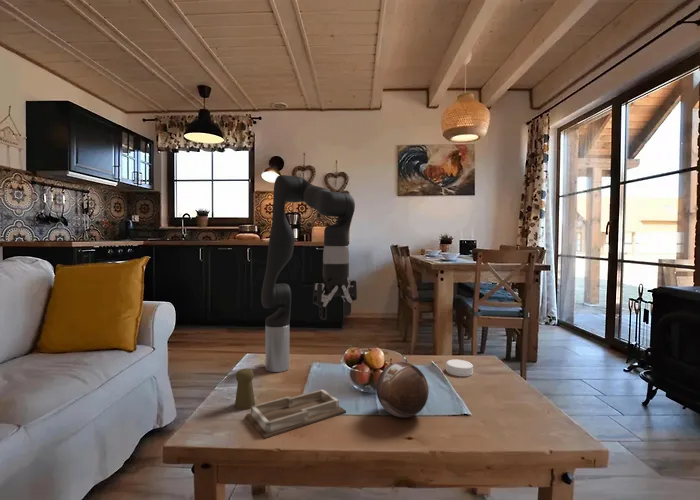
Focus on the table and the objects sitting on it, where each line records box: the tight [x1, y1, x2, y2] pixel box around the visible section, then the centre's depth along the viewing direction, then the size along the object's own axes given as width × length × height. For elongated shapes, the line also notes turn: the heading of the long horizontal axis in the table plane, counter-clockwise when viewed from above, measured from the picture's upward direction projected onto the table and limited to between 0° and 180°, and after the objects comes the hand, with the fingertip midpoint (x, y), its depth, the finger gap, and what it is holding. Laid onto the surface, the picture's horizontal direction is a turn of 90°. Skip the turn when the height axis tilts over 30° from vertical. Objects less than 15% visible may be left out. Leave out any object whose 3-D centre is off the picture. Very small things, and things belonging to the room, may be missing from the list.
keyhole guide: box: [246, 388, 347, 440], centre depth 105 cm, size 14×25×3 cm, turn 125°
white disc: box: [445, 359, 474, 377], centre depth 140 cm, size 10×10×4 cm
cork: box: [234, 367, 256, 411], centre depth 111 cm, size 6×6×11 cm
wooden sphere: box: [376, 361, 430, 418], centre depth 106 cm, size 15×15×15 cm
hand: (335, 317), depth 106 cm, fingers open, 8 cm apart
